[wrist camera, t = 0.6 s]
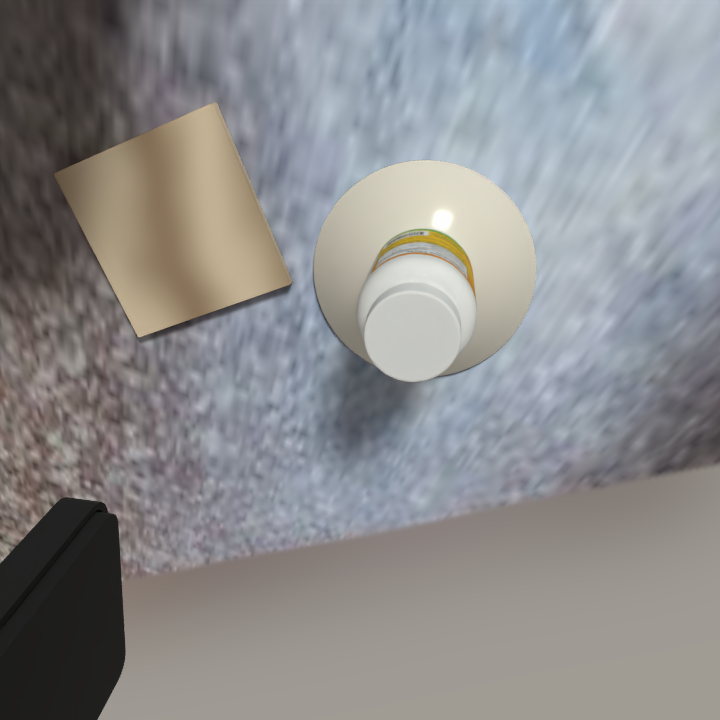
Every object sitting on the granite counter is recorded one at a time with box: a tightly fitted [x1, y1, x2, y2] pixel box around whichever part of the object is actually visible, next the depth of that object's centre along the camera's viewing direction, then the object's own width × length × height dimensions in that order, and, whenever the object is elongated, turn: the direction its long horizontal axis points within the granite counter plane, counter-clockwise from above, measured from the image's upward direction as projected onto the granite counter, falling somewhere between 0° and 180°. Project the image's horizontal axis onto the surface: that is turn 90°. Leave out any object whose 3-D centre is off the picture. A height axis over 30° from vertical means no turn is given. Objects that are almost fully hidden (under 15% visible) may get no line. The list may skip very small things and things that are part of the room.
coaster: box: [314, 160, 537, 376], centre depth 35 cm, size 12×12×1 cm
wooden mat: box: [54, 103, 293, 338], centre depth 36 cm, size 10×10×1 cm
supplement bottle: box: [357, 228, 477, 382], centre depth 31 cm, size 5×5×10 cm
